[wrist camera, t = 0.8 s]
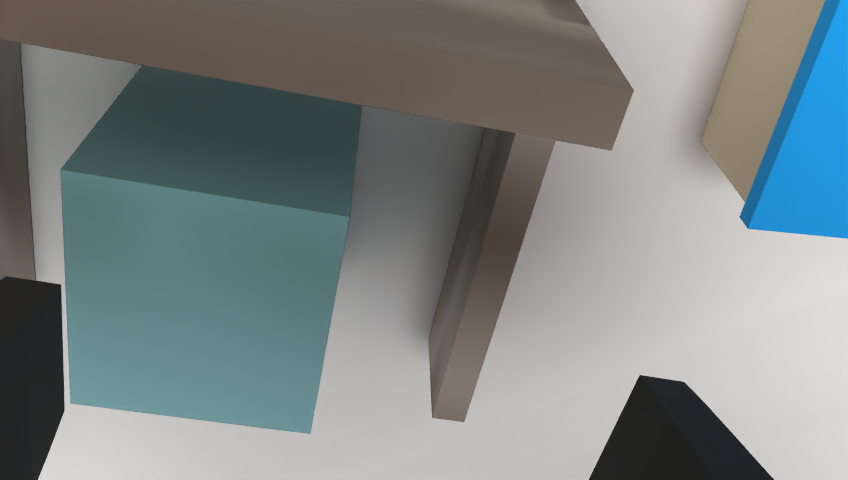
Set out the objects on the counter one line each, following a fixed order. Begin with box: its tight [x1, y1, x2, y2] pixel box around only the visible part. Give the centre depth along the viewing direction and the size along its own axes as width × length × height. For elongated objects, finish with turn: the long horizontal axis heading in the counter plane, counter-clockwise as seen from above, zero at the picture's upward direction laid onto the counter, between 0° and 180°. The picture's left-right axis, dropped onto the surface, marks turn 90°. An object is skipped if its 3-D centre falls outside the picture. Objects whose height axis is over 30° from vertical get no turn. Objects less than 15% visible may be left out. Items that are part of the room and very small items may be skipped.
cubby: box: [0, 0, 634, 422], centre depth 16 cm, size 10×12×6 cm
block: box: [61, 65, 362, 434], centre depth 16 cm, size 5×4×6 cm
